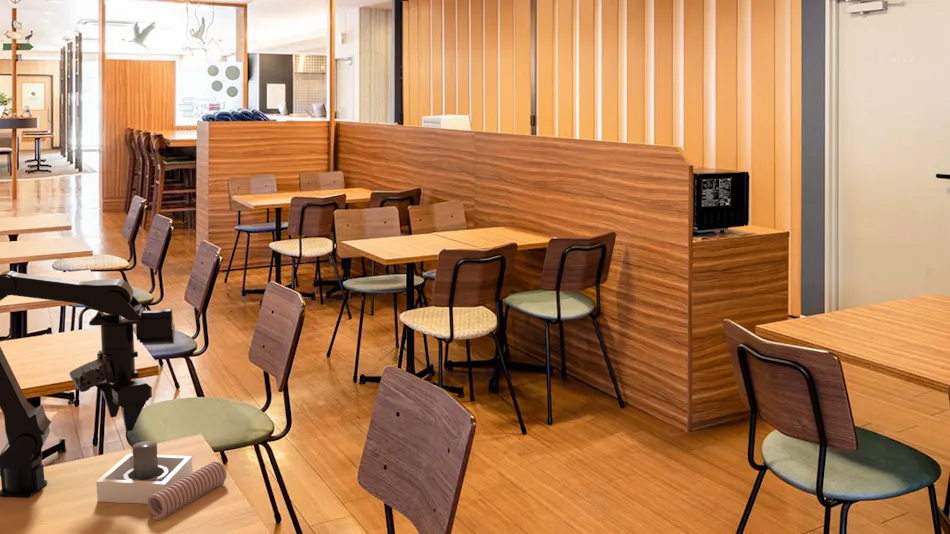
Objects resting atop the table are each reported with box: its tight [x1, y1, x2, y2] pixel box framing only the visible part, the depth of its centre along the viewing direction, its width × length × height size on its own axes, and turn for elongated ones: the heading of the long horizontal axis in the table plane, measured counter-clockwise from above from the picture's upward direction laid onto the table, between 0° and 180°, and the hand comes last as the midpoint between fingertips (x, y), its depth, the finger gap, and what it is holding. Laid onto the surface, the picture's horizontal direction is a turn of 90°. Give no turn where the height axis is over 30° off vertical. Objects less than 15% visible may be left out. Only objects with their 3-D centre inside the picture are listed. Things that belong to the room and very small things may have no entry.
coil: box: [146, 460, 227, 521], centre depth 159 cm, size 5×5×18 cm
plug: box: [132, 440, 158, 480], centre depth 163 cm, size 4×4×8 cm
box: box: [95, 453, 194, 505], centre depth 164 cm, size 13×13×4 cm
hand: (121, 423), depth 165 cm, fingers open, 9 cm apart
